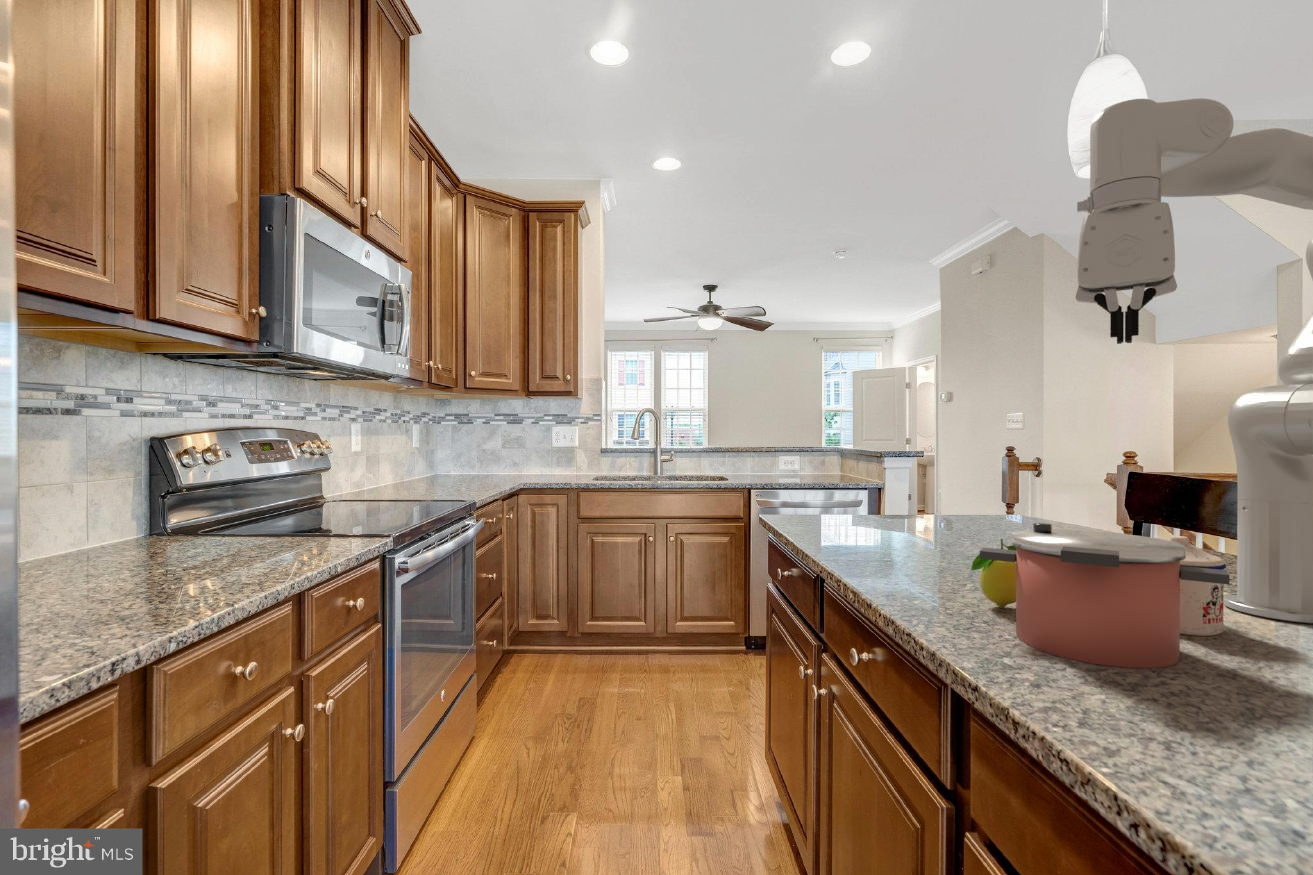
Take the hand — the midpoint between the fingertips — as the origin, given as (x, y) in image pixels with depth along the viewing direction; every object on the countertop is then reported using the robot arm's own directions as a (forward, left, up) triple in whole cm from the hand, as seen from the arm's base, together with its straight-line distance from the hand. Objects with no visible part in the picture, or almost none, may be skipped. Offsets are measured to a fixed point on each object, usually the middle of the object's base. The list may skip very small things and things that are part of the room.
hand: (1124, 342), depth 84 cm
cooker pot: (+12, -3, -37) cm, 39 cm away
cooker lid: (+14, -3, -26) cm, 29 cm away
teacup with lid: (-4, +6, -37) cm, 38 cm away
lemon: (+1, -14, -37) cm, 40 cm away
